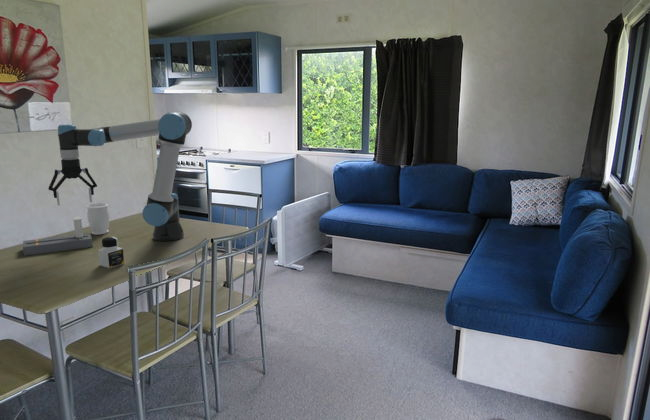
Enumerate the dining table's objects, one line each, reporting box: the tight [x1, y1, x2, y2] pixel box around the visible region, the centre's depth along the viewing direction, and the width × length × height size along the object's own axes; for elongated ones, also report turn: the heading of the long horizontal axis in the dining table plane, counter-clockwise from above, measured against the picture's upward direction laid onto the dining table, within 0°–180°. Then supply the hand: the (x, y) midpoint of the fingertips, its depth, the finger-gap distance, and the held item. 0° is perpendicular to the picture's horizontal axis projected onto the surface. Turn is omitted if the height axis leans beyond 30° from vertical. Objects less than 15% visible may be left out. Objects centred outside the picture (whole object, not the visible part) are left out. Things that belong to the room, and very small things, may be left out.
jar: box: [86, 202, 111, 236], centre depth 247 cm, size 11×10×15 cm
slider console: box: [22, 232, 94, 256], centre depth 223 cm, size 28×11×4 cm, turn 121°
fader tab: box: [72, 216, 84, 238], centre depth 226 cm, size 3×6×11 cm, turn 31°
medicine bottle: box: [97, 236, 125, 269], centre depth 200 cm, size 7×7×12 cm
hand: (75, 203), depth 223 cm, fingers open, 13 cm apart
